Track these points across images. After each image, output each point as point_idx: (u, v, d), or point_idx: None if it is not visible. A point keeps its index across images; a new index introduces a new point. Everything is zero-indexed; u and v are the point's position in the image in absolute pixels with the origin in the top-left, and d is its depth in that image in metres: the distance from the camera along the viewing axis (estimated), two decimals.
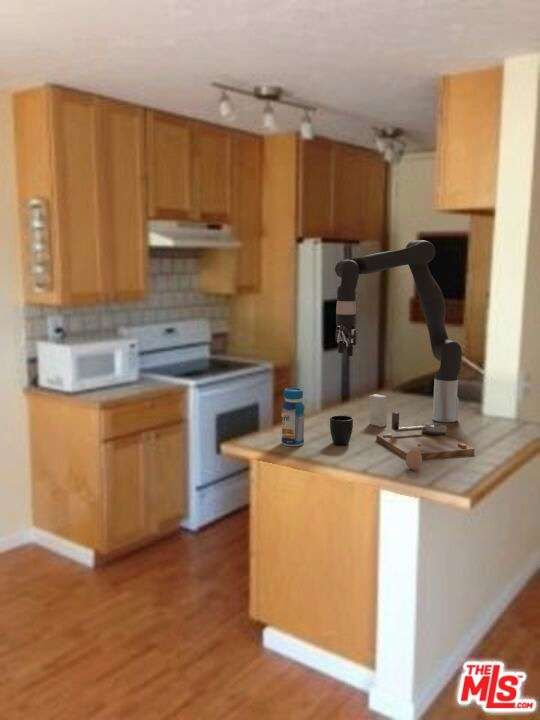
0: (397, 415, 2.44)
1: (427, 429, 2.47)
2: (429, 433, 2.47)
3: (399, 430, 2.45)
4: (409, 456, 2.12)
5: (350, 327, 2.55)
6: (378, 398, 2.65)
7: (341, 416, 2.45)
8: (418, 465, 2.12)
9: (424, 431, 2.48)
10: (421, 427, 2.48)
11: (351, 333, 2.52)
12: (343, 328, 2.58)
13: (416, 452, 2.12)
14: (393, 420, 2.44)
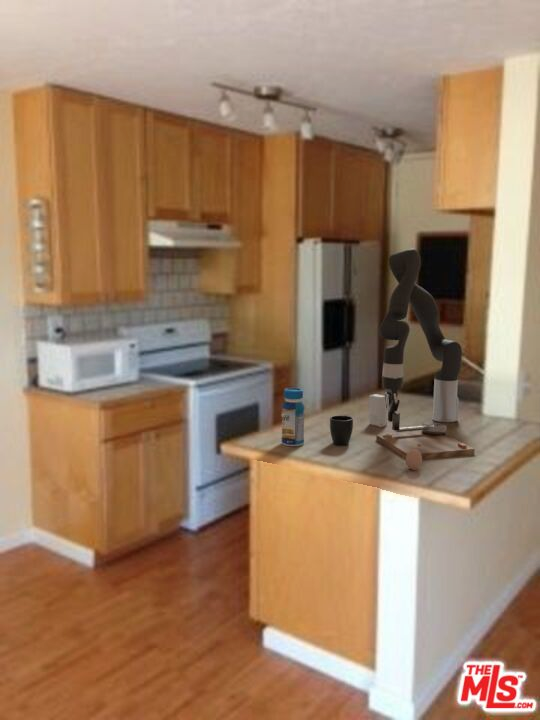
0: (398, 415, 2.43)
1: (427, 429, 2.47)
2: (429, 433, 2.47)
3: (400, 430, 2.45)
4: (409, 456, 2.12)
5: None
6: (378, 398, 2.65)
7: (341, 416, 2.45)
8: (418, 465, 2.12)
9: (424, 431, 2.48)
10: (422, 427, 2.48)
11: None
12: None
13: (416, 452, 2.12)
14: (394, 420, 2.44)
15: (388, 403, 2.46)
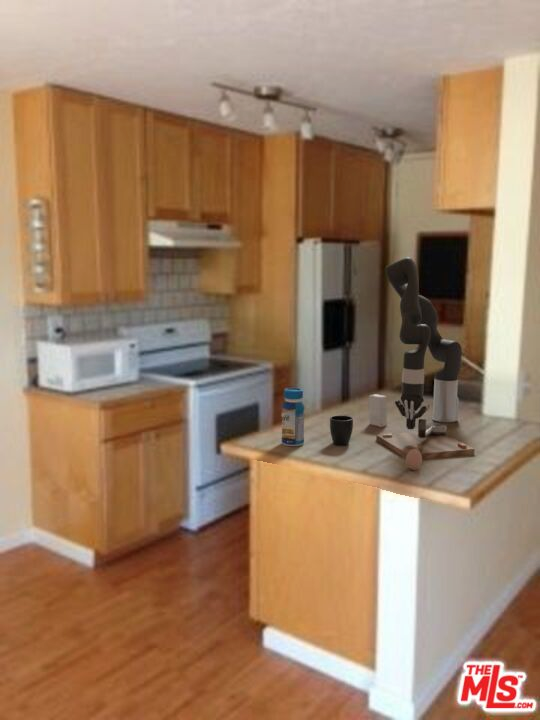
0: (425, 421, 2.35)
1: (436, 430, 2.46)
2: (439, 434, 2.46)
3: (425, 436, 2.37)
4: (409, 456, 2.12)
5: None
6: (378, 398, 2.65)
7: (341, 416, 2.45)
8: (418, 465, 2.12)
9: (432, 433, 2.46)
10: (431, 429, 2.45)
11: None
12: None
13: (416, 452, 2.12)
14: (422, 427, 2.35)
15: (413, 410, 2.35)
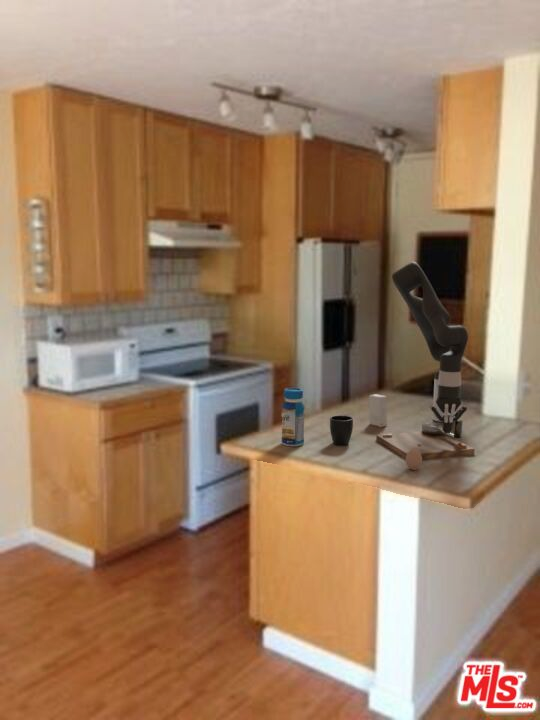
0: None
1: None
2: None
3: None
4: (409, 456, 2.12)
5: (438, 398, 2.31)
6: (378, 398, 2.65)
7: (341, 416, 2.45)
8: (418, 465, 2.12)
9: (442, 433, 2.46)
10: None
11: None
12: None
13: (416, 452, 2.12)
14: (461, 428, 2.33)
15: (454, 413, 2.31)
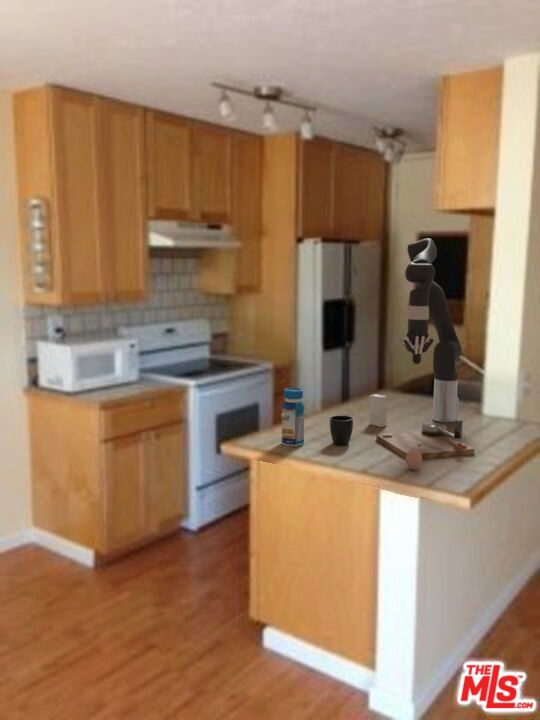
0: None
1: (444, 429, 2.47)
2: None
3: None
4: (409, 456, 2.12)
5: (409, 332, 2.50)
6: (378, 398, 2.65)
7: (341, 416, 2.45)
8: (418, 465, 2.12)
9: (442, 433, 2.46)
10: (443, 429, 2.45)
11: (403, 343, 2.51)
12: None
13: (416, 452, 2.12)
14: (461, 428, 2.34)
15: (423, 345, 2.51)
